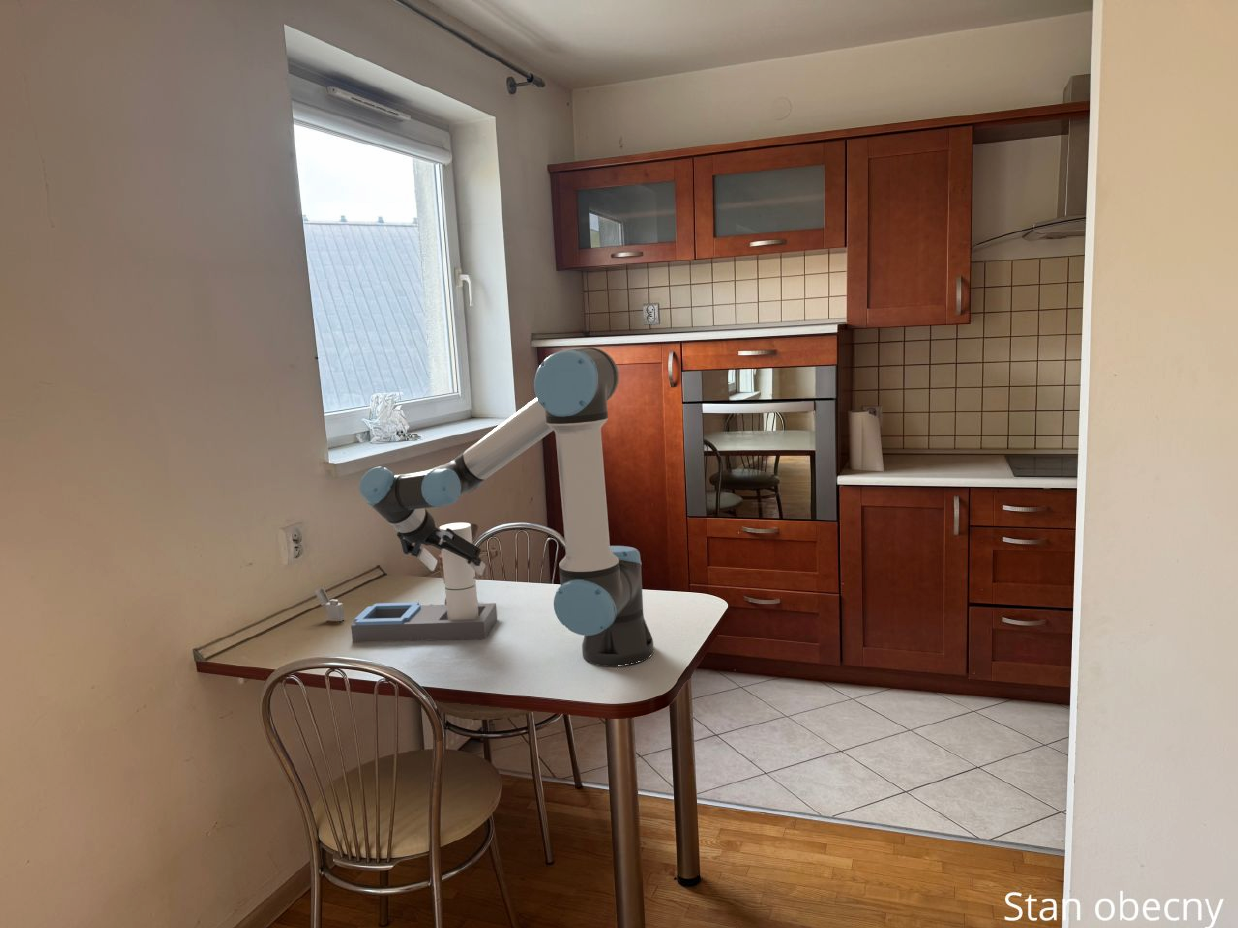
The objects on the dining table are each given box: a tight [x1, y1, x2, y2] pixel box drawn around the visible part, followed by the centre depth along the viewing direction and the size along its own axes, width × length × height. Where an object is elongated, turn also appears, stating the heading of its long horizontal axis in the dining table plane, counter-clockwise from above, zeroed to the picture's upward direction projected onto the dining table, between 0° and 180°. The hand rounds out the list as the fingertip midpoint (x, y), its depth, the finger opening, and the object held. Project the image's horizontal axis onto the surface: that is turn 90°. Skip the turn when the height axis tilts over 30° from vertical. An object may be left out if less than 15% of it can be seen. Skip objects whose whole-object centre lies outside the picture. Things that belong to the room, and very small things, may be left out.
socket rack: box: [350, 601, 498, 643], centre depth 200 cm, size 31×13×5 cm, turn 86°
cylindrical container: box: [439, 522, 479, 620], centre depth 197 cm, size 7×7×25 cm
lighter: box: [314, 587, 345, 622], centre depth 211 cm, size 7×2×8 cm, turn 66°
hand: (458, 568), depth 198 cm, fingers open, 13 cm apart
